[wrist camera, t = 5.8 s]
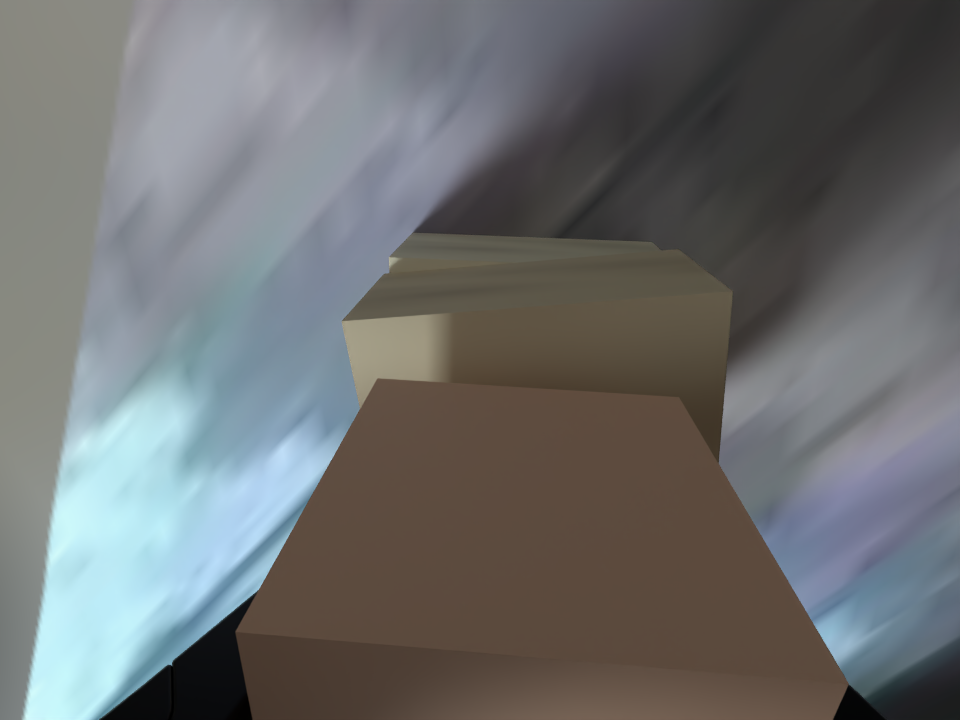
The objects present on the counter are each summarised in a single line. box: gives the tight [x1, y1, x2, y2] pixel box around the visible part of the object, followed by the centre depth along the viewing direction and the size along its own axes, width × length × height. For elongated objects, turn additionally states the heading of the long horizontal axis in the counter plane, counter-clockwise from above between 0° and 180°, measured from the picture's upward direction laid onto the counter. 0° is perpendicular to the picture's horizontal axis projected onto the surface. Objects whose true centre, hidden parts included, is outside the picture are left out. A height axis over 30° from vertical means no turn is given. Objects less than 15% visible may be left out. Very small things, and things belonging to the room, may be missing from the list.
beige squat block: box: [342, 249, 733, 463], centre depth 13 cm, size 7×7×4 cm
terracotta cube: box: [235, 378, 849, 720], centre depth 8 cm, size 5×5×5 cm
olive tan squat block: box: [389, 233, 661, 273], centre depth 16 cm, size 7×7×4 cm
